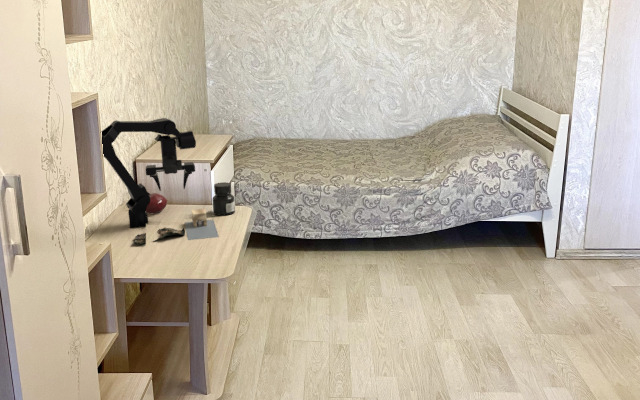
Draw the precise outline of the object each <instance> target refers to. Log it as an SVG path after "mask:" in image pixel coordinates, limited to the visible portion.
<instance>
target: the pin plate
mask: <svg viewBox="0 0 640 400" xmlns="http://www.w3.org/2000/svg"><path fill="white" fill-rule="evenodd" d="M184 225H185V233H186V238H187V241H193V240H194V241H195V240H203V239H213V238H219V236H220V235H219V234H218V230H217V227H216V224H215V221H214V219H207V226H204V224H203V220H199V221H197V227H194V226H193V221H185V222H184Z"/></svg>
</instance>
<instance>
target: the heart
mask: <svg viewBox="0 0 640 400" xmlns="http://www.w3.org/2000/svg"><path fill="white" fill-rule="evenodd" d="M149 196H150V199H151V200H150V203H149V205H148V206H147V209H146V212H147V214H151V215H157V214H159V213H161V212H162V211H163V210H164V209H165V208H166V207H167V204H168V199H167V198H166V197H165V196H164V195H163V194H160V193H157V192H153V193H150V195H149Z"/></svg>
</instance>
